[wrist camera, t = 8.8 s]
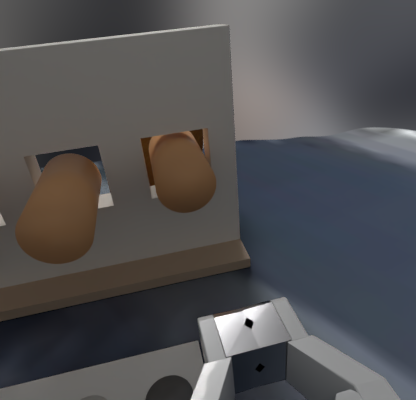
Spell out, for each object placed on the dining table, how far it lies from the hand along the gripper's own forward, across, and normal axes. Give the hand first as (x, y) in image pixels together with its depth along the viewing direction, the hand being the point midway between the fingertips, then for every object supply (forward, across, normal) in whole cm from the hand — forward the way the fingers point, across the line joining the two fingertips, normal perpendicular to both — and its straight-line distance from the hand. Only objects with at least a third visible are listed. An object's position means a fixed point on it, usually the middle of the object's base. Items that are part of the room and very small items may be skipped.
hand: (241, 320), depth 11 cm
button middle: (+11, +7, +2) cm, 13 cm away
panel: (+15, +7, +8) cm, 18 cm away
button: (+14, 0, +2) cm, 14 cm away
